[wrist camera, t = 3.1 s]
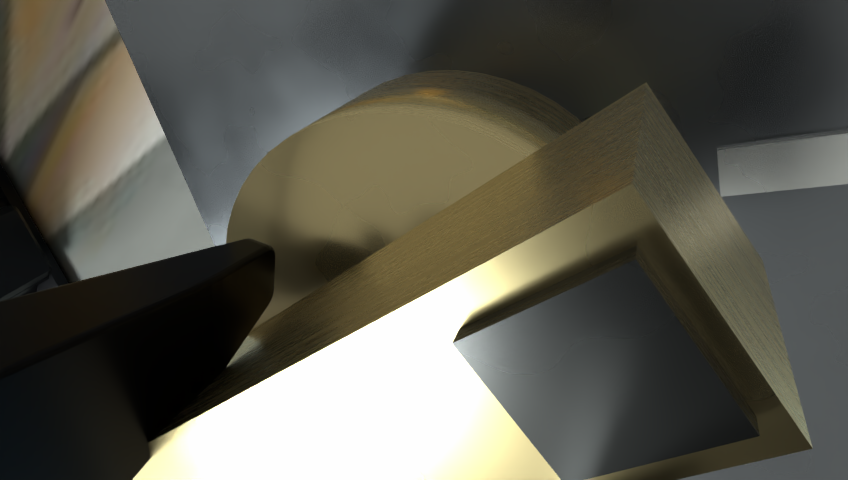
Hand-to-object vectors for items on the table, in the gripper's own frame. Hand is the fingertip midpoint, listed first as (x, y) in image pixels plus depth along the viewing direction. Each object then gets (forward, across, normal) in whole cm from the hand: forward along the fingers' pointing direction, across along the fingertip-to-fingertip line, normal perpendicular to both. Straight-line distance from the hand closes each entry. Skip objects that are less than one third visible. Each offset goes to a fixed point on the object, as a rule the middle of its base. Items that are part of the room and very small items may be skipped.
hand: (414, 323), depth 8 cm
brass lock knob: (+3, 0, 0) cm, 3 cm away
